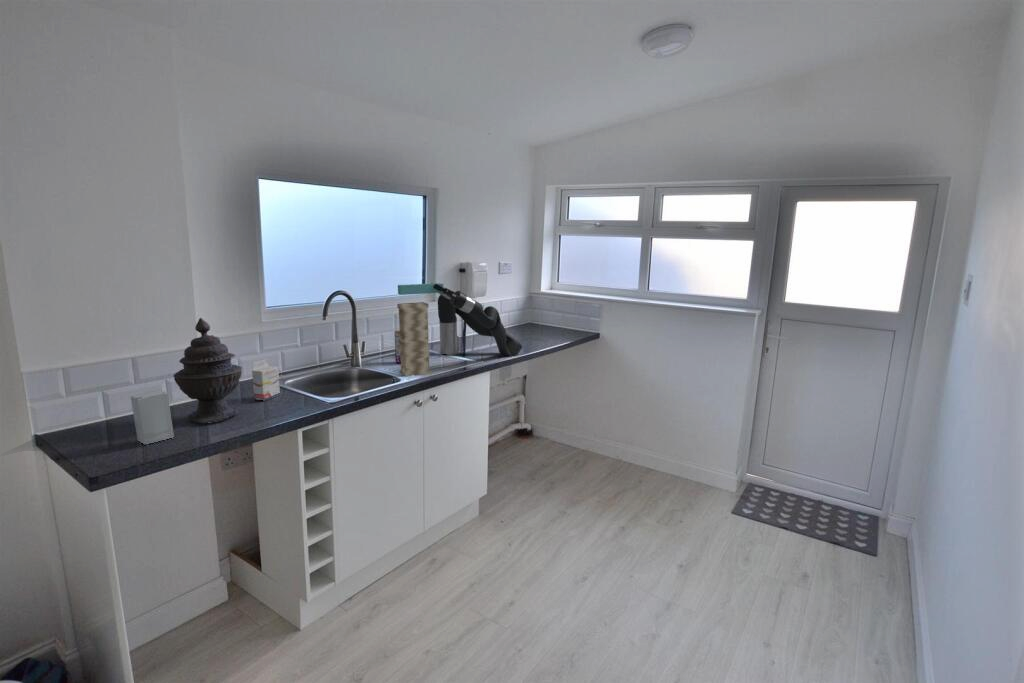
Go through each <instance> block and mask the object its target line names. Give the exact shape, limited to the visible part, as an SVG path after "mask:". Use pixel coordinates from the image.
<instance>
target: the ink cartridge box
mask: <svg viewBox="0 0 1024 683" xmlns="http://www.w3.org/2000/svg"><path fill="white" fill-rule="evenodd" d="M269 361H270V360H269V358H266V359H262V360H258V361H254V362H252V364H251V365H252V366H251V367H252V368H251V369H252V371H251V374H252V375H251V376H252V384H253V385H252V386H253V389H252V390H253V398H254V397H255V398H261V399H264V398H268V397H270V396H273V395H275V394H278V393H280V394H281V389H280V388H281V387H280V376H279V374H280V373H279V366H270V365H269V364H270V363H269ZM260 364H261V365H260Z"/></svg>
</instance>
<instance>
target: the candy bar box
mask: <svg viewBox="0 0 1024 683" xmlns="http://www.w3.org/2000/svg"><path fill="white" fill-rule="evenodd" d="M394 353H395V355H394V356H395V363H396V362H401V354H400V330H399V328H398V329H396V330H394Z"/></svg>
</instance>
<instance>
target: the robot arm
mask: <svg viewBox="0 0 1024 683" xmlns="http://www.w3.org/2000/svg"><path fill="white" fill-rule="evenodd" d="M430 284H433V282H431V283H430ZM433 288H435V289H436V290H438V291H441V293H438V294H439V296H438V298H437V315H438V319H439V320H438V321H439V346H440V347H439V351H440V353H441V354H447V355H446V356H455V355H458V354H460V340H459V339H460V338H459V335H458V317H457V315H458V316H459V317H460V318H461V319H462V321H463V322H464V323H465V324H466V325H467V326H468V327H469V328H470V329H471V330H472V331H473V332H475V333H476V334H477V335H479V336H482V337H483V336H484V337H493V338H494V341H495V344H496V346H497V349H498V352H499V354H500V355H501V356H502V357H507V358H509V357H510V358H512V356H513V357H517V356H518V354H519V353H520V352H521V351H522V349H523V345H522V343H521V342H519V341H518V340H517V339H515V338H514V337H513V336H511V335H510V334H508V333H507V330H506V327H505V326H504V325H503V323H502V320H501V316H500V313H499V310H498V309H497V308H496V307H495V306H494V307H493V306H491V305H490V306H486V307H484V306H483V304H481V303H480V302H478V301H476V300H475V299H473V298H472V297H471V296H469V295H467V294H465V293H463V291H460V290H457V291H454V290H451V289H449V288H447V287H444V286H443V288H442V287H441V286H440V285H438V284H435V285H434V287H433ZM441 354H440V355H441Z"/></svg>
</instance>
